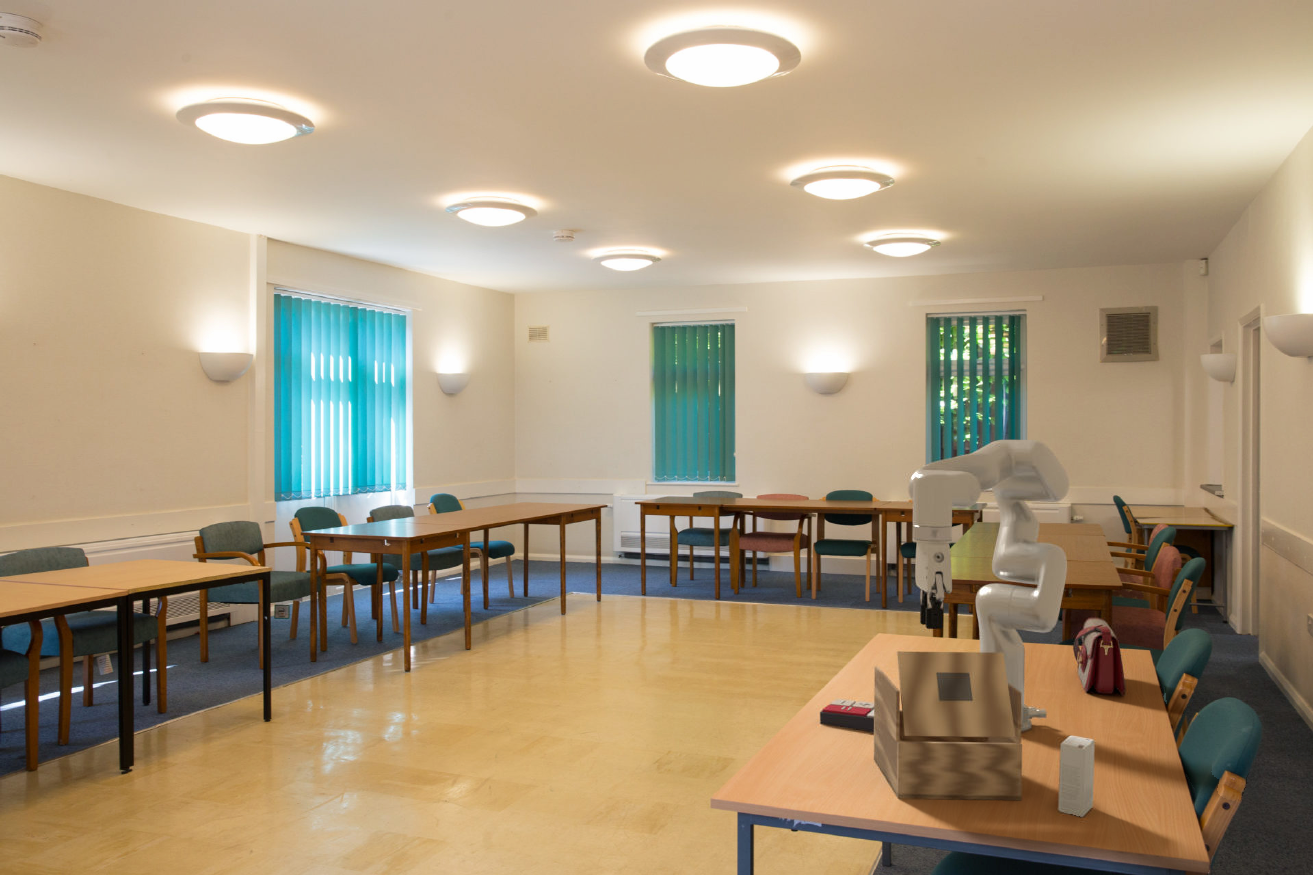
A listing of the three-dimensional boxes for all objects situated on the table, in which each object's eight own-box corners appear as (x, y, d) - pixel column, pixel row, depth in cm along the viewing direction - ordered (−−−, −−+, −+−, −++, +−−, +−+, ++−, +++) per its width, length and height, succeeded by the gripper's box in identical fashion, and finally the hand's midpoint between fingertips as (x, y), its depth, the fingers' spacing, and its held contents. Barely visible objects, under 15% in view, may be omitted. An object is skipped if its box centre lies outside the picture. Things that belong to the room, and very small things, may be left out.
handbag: (1071, 670, 259) (1071, 608, 258) (1112, 673, 255) (1113, 610, 255) (1080, 696, 232) (1081, 627, 232) (1127, 700, 229) (1128, 630, 229)
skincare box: (1067, 801, 165) (1068, 733, 165) (1094, 807, 162) (1095, 739, 162) (1057, 811, 160) (1057, 742, 160) (1084, 818, 157) (1085, 747, 157)
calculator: (834, 697, 218) (898, 703, 211) (835, 715, 218) (899, 722, 211) (819, 708, 209) (884, 715, 201) (819, 727, 208) (885, 735, 201)
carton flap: (1002, 653, 172) (1003, 652, 171) (1014, 737, 166) (1015, 736, 165) (896, 652, 172) (897, 651, 172) (904, 735, 166) (905, 735, 166)
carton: (984, 760, 185) (985, 666, 185) (1022, 800, 165) (1023, 694, 165) (872, 759, 186) (873, 664, 186) (896, 798, 166) (897, 692, 166)
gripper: (964, 539, 176) (963, 635, 176) (939, 530, 193) (938, 618, 193) (924, 539, 176) (923, 635, 176) (902, 530, 193) (902, 618, 193)
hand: (931, 625), depth 184 cm, fingers open, 3 cm apart
